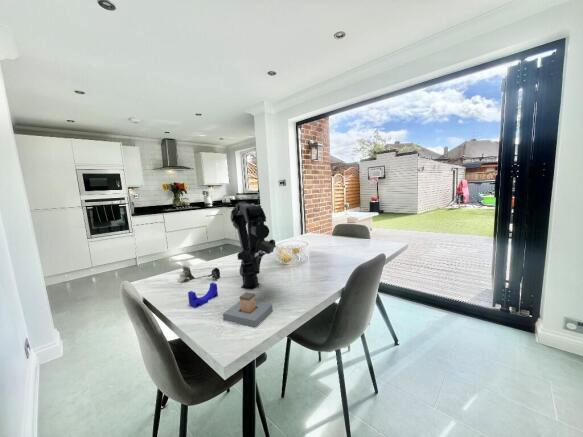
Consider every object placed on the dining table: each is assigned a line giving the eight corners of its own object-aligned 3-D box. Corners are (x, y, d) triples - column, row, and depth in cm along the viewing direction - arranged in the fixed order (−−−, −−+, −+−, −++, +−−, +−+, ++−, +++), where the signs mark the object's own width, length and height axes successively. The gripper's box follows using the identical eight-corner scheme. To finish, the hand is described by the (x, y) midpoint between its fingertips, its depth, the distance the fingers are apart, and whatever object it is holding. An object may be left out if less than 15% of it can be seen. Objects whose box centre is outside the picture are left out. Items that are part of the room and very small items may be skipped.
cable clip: (195, 308, 98) (193, 294, 97) (189, 305, 100) (187, 292, 100) (219, 297, 107) (218, 284, 106) (213, 295, 110) (212, 282, 109)
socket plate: (223, 319, 88) (222, 313, 88) (243, 304, 99) (242, 299, 98) (255, 327, 82) (255, 320, 82) (272, 310, 93) (272, 304, 93)
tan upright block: (241, 316, 89) (239, 296, 88) (247, 311, 93) (246, 292, 92) (250, 318, 88) (248, 298, 87) (256, 313, 91) (254, 293, 90)
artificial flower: (215, 285, 124) (208, 269, 120) (177, 288, 129) (170, 273, 125) (222, 275, 132) (216, 259, 129) (186, 278, 137) (179, 263, 133)
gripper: (259, 240, 91) (261, 280, 93) (281, 231, 107) (283, 265, 109) (235, 239, 95) (238, 276, 97) (260, 230, 112) (262, 263, 114)
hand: (257, 270), depth 104 cm, fingers closed
